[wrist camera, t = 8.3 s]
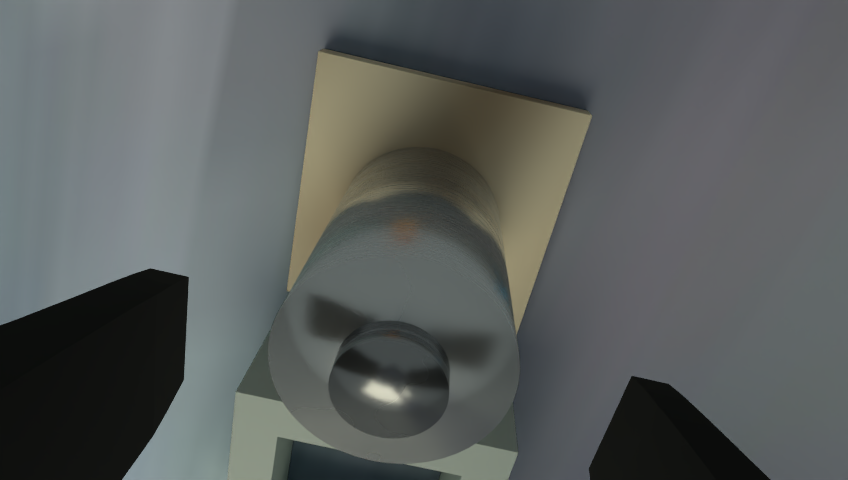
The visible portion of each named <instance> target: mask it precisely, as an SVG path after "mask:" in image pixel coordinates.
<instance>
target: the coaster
mask: <svg viewBox="0 0 848 480" xmlns="http://www.w3.org/2000/svg"><path fill="white" fill-rule="evenodd" d="M591 118H592V115H591V114H590V113H589V112H588V111H587V110H582V109H578V108H574V107H570V106H565V105H561V104H557V103H553V102H548V101H544V100H540V99H536V98H531V97H527V96H523V95H519V94H514V93H510V92H506V91H502V90H497V89H493V88H489V87H485V86H480V85H476V84H472V83H468V82H463V81H459V80H455V79H451V78H446V77H442V76H438V75H434V74H429V73H425V72H421V71H417V70H412V69H408V68H404V67H400V66H395V65H391V64H387V63H383V62H378V61H374V60H370V59H366V58H361V57H357V56H353V55H349V54H344V53H340V52H336V51H332V50H327V49H322V50H320V51H318V59H317V66H316V74H315V81H314V89H313V96H312V104H311V111H310V119H309V127H308V134H307V142H306V149H305V157H304V164H303V172H302V179H301V187H300V195H299V202H298V210H297V217H296V225H295V232H294V240H293V247H292V255H291V263H290V270H289V278H288V285H287V291H289V292H290V290H291V288H292V287H293V285H294V283H295V281H296V279H297V278H298V276H299V274H300V272H301V271H302V269H303V267H304V265H305V263H306V262H307V260H308V258H309V256H310V255H311V253H312V251H313V249H314V248H315V246H316V244H317V242H318V240H319V239H320V237H321V235H322V233H323V232H324V230H325V228H326V226H327V224H328V223H329V221H330V219H331V217H332V216H333V214H334V212H335V210H336V209H337V207H338V205H339V203H340V201H341V200H342V198H343V196H344V194H345V193H346V191H347V189H348V187H349V186H350V184H351V182H352V181H353V179H354V178H355V176H356V175H357V174H358V173H359V172H360V170H362V169H363V168H364V167H365V166H366V165H367V164H368V163H370V162H371V161H373V160H374V159H375V158H377V157H379V156H381V155H383V154H385V153H388V152H391V151H393V150H397V149H402V148H407V147H429V148H435V149H440V150H443V151H446V152H449V153H451V154H453V155H455V156H458V157H460V158H461V159H463V160H464V161H466V162H467V163H469V164H470V165H471V166H472V167H474V168H475V169H476V170H477V171H478V172H479V173H480V174H481V175H482V176H483V178H484V179H485V180H486V182H487V183H488V185H489V186H490V188H491V190H492V192H493V194H494V197H495V200H496V202H497V206H498V211H499V217H500V224H501V231H502V238H503V245H504V252H505V259H506V266H507V273H508V280H509V287H510V294H511V301H512V308H513V315H514V322H515V329H516V335H517V332H518V329H519V326H520V323H521V320H522V318H523V315H524V312H525V309H526V306H527V303H528V300H529V297H530V294H531V291H532V289H533V286H534V283H535V280H536V277H537V274H538V271H539V268H540V265H541V263H542V260H543V257H544V254H545V251H546V248H547V245H548V242H549V239H550V236H551V234H552V231H553V228H554V225H555V222H556V219H557V216H558V213H559V210H560V208H561V205H562V202H563V199H564V196H565V193H566V190H567V187H568V184H569V181H570V179H571V176H572V173H573V170H574V167H575V164H576V161H577V158H578V155H579V152H580V150H581V147H582V144H583V141H584V138H585V135H586V132H587V129H588V126H589V124H590V121H591Z"/></svg>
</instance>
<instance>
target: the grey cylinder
mask: <svg viewBox="0 0 848 480" xmlns="http://www.w3.org/2000/svg"><path fill="white" fill-rule="evenodd" d="M268 362H269V369H270V373H271V377H272V381H273V383H274V386H275V388H276V390H277V393H278V395H279V396H280V398H281V400H282V402H283V403H284V405H285V406H286V408H287V409H288V410H289V412H290V413H291V414H292V415H293V417H294V418H295V419H296V420H297V421H298V422H299V423H300V424H301V425H302V426H303V427H304V428H306V429H307V430H308V431H309V432H310V433H312V434H313V435H314V436H316V437H317V438H319V439H320V440H322V441H323V442H325V443H326V444H328V445H330V446H332V447H334V448H336V449H338V450H340V451H343V452H345V453H348V454H350V455H353V456H356V457H360V458H363V459H367V460H371V461H377V462H383V463H394V464H414V463H422V462H429V461H434V460H438V459H443V458H446V457H448V456H451V455H454V454H457V453H459V452H461V451H463V450H465V449H467V448H469V447H471V446H473V445H474V444H476V443H477V442H479V441H481V440H482V439H483V438H484V437H485V436H487V435H488V434H489V433H490V432H492V430H493V429H494V428H495V427H496V426H497V425H498V424H499V423H500V422H501V421H502V419H503V418H504V416H505V415H506V413H507V412H508V410H509V408H510V406H511V404H512V402H513V400H514V398H515V395H516V391H517V388H518V384H519V376H520V357H519V350H518V343H517V336H516V329H515V322H514V315H513V308H512V301H511V294H510V287H509V280H508V273H507V266H506V259H505V252H504V245H503V238H502V231H501V224H500V217H499V211H498V206H497V202H496V200H495V197H494V194H493V192H492V190H491V188H490V186H489V185H488V183H487V182H486V180H485V179H484V178H483V176H482V175H481V174H480V173H479V172H478V171H477V170H476V169H475V168H474V167H472V166H471V165H470V164H469V163H467V162H466V161H464V160H463V159H461V158H460V157H458V156H455V155H453V154H451V153H449V152H446V151H443V150H440V149H435V148H429V147H407V148H402V149H397V150H393V151H391V152H388V153H385V154H383V155H381V156H379V157H377V158H375V159H374V160H373V161H371V162H370V163H368V164H367V165H366V166H365V167H364V168H363V169H362V170H360V172H359V173H358V174H357V175H356V176H355V178H354V179H353V181H352V182H351V184H350V186H349V187H348V189H347V191H346V193H345V194H344V196H343V198H342V200H341V201H340V203H339V205H338V207H337V209H336V210H335V212H334V214H333V216H332V217H331V219H330V221H329V223H328V224H327V226H326V228H325V230H324V232H323V233H322V235H321V237H320V239H319V240H318V242H317V244H316V246H315V248H314V249H313V251H312V253H311V255H310V256H309V258H308V260H307V262H306V263H305V265H304V267H303V269H302V271H301V272H300V274H299V276H298V278H297V279H296V281H295V283H294V285H293V287H292V288H291V290H290V292H289V294H288V295H287V297H286V299H285V301H284V302H283V304H282V306H281V308H280V310H279V311H278V313H277V315H276V318H275V320H274V323H273V325H272V328H271V332H270V336H269V342H268Z"/></svg>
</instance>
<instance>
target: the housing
mask: <svg viewBox="0 0 848 480" xmlns="http://www.w3.org/2000/svg"><path fill="white" fill-rule="evenodd" d="M270 332H271V331H269V333H268V335H267V337H266V339H265V340H264V342H263V344H262V346H261V348H260V349H259V351H258V353H257V355H256V357H255V358H254V360H253V362H252V364H251V366H250V367H249V369H248V371H247V373H246V375H245V376H244V378H243V380H242V382H241V383H240V385H239V387H238V389H237V391H236V396H235V406H234V416H233V427H232V437H231V447H230V458H229V468H228V479H227V480H287V478H288V471H289V465H290V459H291V452H292V446H293V440H295V441H300V442H305V443H309V444H314V445H319V446H323V447H328V448H333V449H336V448H334V447H332V446H330V445H328V444H326V443H325V442H323V441H322V440H320V439H319V438H317V437H316V436H314V435H313V434H312V433H310V432H309V431H308V430H307V429H306V428H304V427H303V426H302V425H301V424H300V423H299V422H298V421H297V420H296V419H295V418H294V417H293V415H292V414H291V413H290V412H289V410H288V409H287V408H286V406H285V405H284V403H283V402H282V400H281V398H280V396H279V395H278V393H277V390H276V388H275V386H274V383H273V381H272V377H271V373H270V369H269V362H268V342H269V336H270ZM337 450H338V449H337ZM517 455H518V445H517V436H516V427H515V418H514V410H513V402H512V404H511V406H510V408H509V410H508V412H507V413H506V415H505V416H504V418H503V419H502V421H501V422H500V423H499V424H498V425H497V426H496V427H495V428H494V429H493V430H492V432H490V433H489V434H488V435H487V436H485V437H484V438H483V439H482V440H481V441H479V442H477V443H476V444H474V445H473V446H471V447H469V448H467V449H465V450H463V451H461V452H459V453H457V454H454V455H451V456H448V457H446V458H443V459H438V460H434V461H429V462H422V463H414V464H407V465H412V466H417V467H421V468H426V469H431V470H435V471H440V472H441V474H440V477H439V480H508V478H509V476H510V473H511V470H512V468H513V465H514V463H515V460H516V458H517Z"/></svg>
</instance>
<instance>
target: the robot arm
mask: <svg viewBox="0 0 848 480" xmlns="http://www.w3.org/2000/svg"><path fill="white" fill-rule="evenodd" d="M188 282H189V277H186V276H182V275H177V274H173V273H168V272H164V271H159V270H155V269H147V270H144V271H141V272H138V273H135V274H132V275H129V276H127V277H124V278H121V279H119V280H116V281H114V282H111V283H108V284H106V285H103V286H101V287H98V288H96V289H93V290H91V291H88V292H86V293H83V294H81V295H78V296H76V297H73V298H71V299H68V300H66V301H63V302H60V303H58V304H55V305H53V306H50V307H48V308H45V309H42V310H40V311H37V312H35V313H32V314H30V315H27V316H25V317H22V318H19V319H17V320H14V321H11V322H9V323H6V324H3V325H0V480H122V479H123V477H124V476H125V475H126V473H127V472H128V470H129V469H130V468H131V466H132V465H133V463H134V462H135V461H136V459H137V458H138V456H139V455H140V454H141V452H142V451H143V449H144V448H145V447H146V445H147V444H148V442H149V441H150V439H151V438H152V437H153V435H154V433H155V432H156V430H157V428H158V426H159V425H160V423H161V421H162V419H163V417H164V416H165V414H166V412H167V410H168V409H169V407H170V405H171V403H172V401H173V399H174V397H175V395H176V393H177V392H178V390H179V388H180V386H181V384H182V382H183V380H184V364H185V343H186V323H187V302H188ZM589 473H590V480H770V479H769V478H768V477H767V476H766V475H765V474H764V473H763V472H762V471H761V470H760V469H759V468H758V467H757V466H756V465H755V464H754V463H753V462H752V461H750V460H749V459H748V458H747V457H746V456H745V455H744V454H743V453H742V452H741V451H740V450H739V449H738V448H737V447H736V446H735V445H734V444H733V443H732V442H731V441H730V440H729V439H728V438H727V437H726V436H725V435H724V434H723V433H722V432H721V431H720V430H719V429H718V428H717V427H715V426H714V425H713V424H712V423H711V422H710V421H709V420H708V419H707V418H706V417H705V416H704V415H703V414H702V413H701V412H700V411H699V410H698V409H697V408H696V407H695V406H693V405H692V404H691V403H690V402H689V401H688V400H687V399H686V398H685V397H683V396H682V395H681V394H680V393H679V392H678V391H676V390H675V389H674V388H673V387H672V386H670V385H669V384H666V383H661V382H657V381H652V380H648V379H644V378H639V377H635V376H632V377H631V379H630V381H629V383H628V385H627V387H626V390H625V392H624V394H623V396H622V398H621V400H620V403H619V405H618V407H617V409H616V411H615V413H614V415H613V418H612V420H611V422H610V424H609V426H608V428H607V431H606V433H605V435H604V437H603V439H602V441H601V444H600V446H599V448H598V450H597V452H596V454H595V456H594V459H593V461H592V463H591V465H590V467H589Z"/></svg>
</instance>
